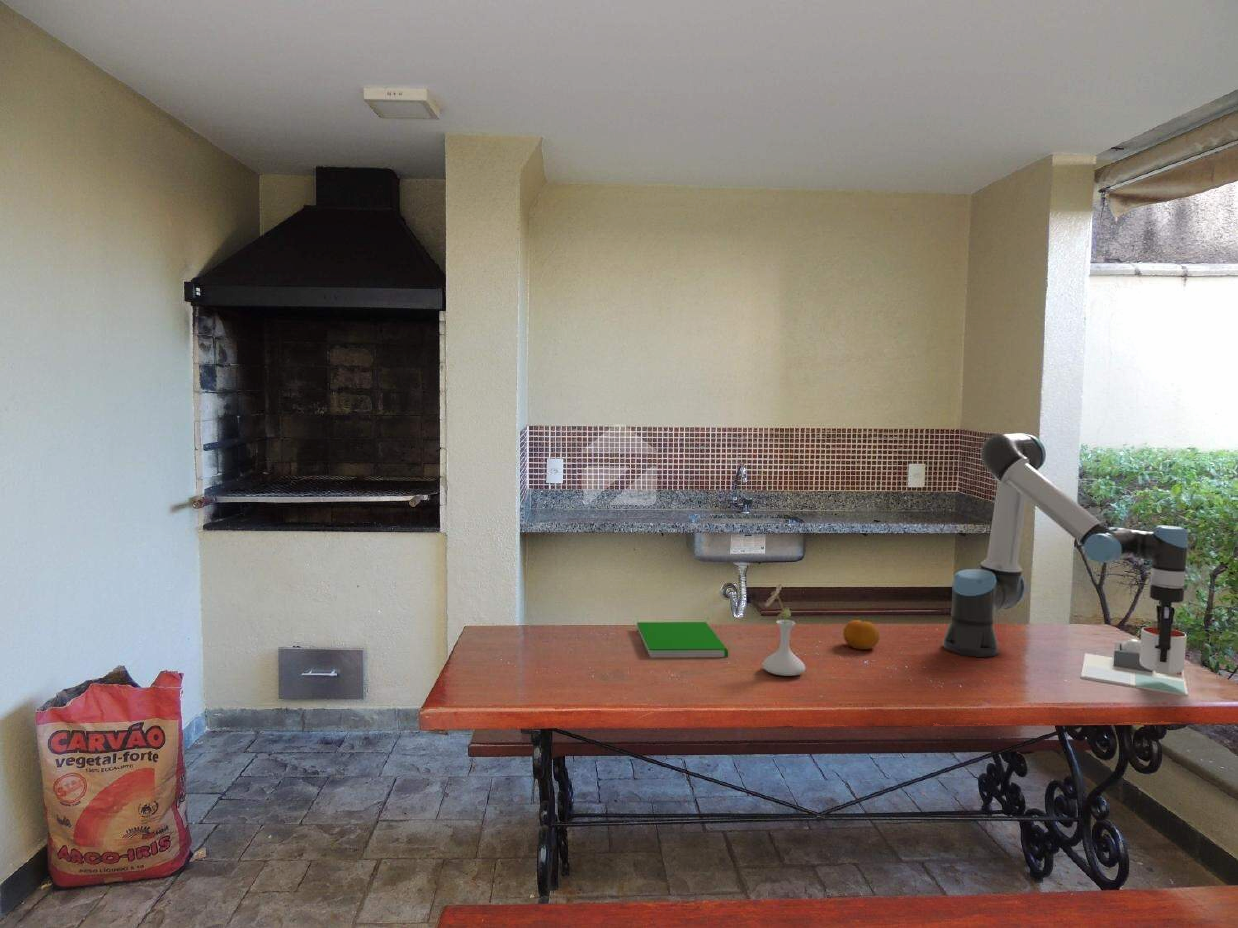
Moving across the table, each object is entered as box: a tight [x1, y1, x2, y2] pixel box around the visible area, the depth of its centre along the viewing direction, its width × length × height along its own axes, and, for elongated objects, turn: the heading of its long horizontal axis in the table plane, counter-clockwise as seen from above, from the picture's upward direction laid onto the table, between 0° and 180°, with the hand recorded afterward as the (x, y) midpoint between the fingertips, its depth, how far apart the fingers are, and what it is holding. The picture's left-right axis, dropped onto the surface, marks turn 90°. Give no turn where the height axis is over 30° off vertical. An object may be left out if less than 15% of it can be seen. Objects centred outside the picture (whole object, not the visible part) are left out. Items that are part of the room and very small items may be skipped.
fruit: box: [842, 619, 880, 650], centre depth 251 cm, size 10×10×8 cm
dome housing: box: [1113, 642, 1153, 672], centre depth 239 cm, size 9×9×4 cm
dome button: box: [1121, 638, 1141, 653], centre depth 239 cm, size 6×6×6 cm
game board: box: [1080, 652, 1189, 697], centre depth 232 cm, size 24×25×5 cm
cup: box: [1139, 626, 1187, 674], centre depth 223 cm, size 10×10×10 cm
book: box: [636, 621, 729, 658], centre depth 251 cm, size 22×28×3 cm
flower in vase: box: [761, 581, 806, 677], centre depth 225 cm, size 13×11×25 cm
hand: (1161, 668), depth 223 cm, fingers closed on cup, 10 cm apart
